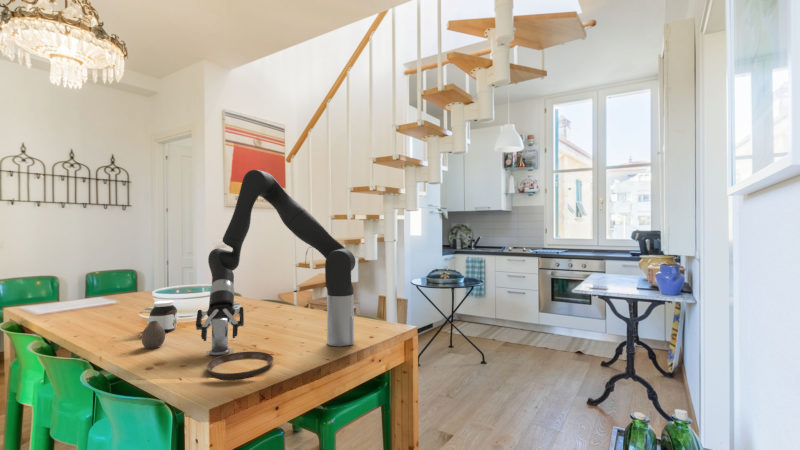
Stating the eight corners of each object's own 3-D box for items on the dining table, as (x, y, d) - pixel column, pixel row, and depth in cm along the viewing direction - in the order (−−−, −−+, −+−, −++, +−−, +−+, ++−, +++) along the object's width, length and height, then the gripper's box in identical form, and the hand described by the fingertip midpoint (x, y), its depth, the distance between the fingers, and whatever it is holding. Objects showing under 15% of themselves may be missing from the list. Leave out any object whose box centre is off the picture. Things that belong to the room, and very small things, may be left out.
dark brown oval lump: (169, 345, 134) (169, 320, 134) (149, 351, 127) (149, 324, 127) (157, 343, 136) (157, 318, 137) (136, 348, 130) (136, 322, 130)
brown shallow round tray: (280, 375, 107) (280, 364, 107) (210, 389, 97) (210, 377, 97) (265, 357, 122) (265, 347, 122) (202, 368, 112) (203, 357, 112)
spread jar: (165, 334, 148) (165, 304, 148) (136, 334, 148) (136, 304, 148) (183, 326, 160) (183, 298, 160) (156, 326, 160) (156, 298, 160)
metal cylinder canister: (232, 350, 125) (232, 316, 125) (225, 356, 119) (225, 320, 119) (214, 350, 124) (214, 316, 124) (206, 356, 119) (206, 321, 119)
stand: (233, 351, 127) (233, 348, 127) (233, 358, 119) (233, 355, 119) (207, 354, 124) (207, 351, 124) (204, 362, 116) (204, 358, 116)
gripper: (197, 290, 126) (192, 334, 115) (244, 288, 132) (244, 329, 121) (199, 303, 131) (195, 347, 120) (244, 300, 136) (244, 342, 125)
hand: (219, 338), depth 120 cm, fingers open, 8 cm apart
